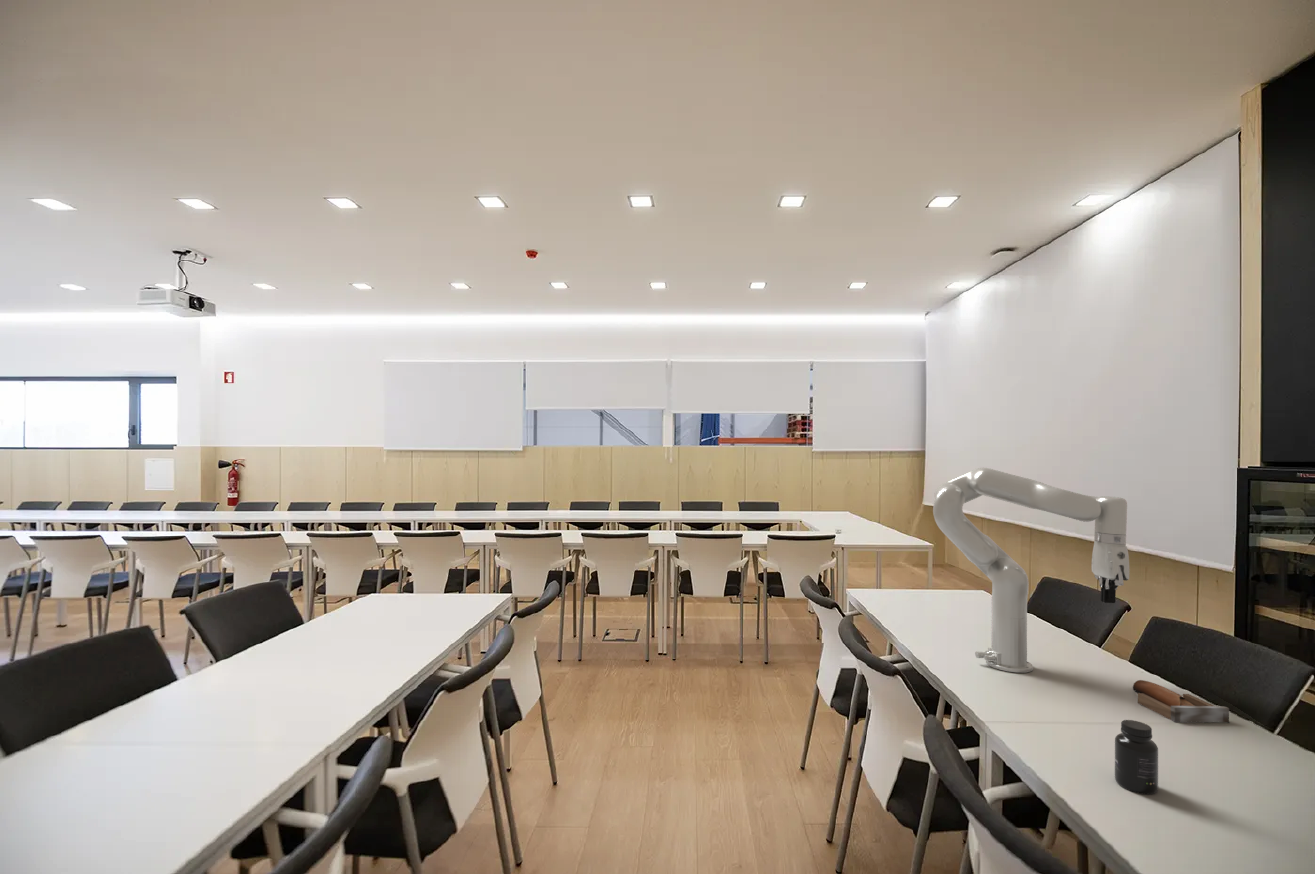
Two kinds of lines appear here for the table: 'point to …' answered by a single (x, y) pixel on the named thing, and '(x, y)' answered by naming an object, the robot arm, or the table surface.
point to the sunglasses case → (1160, 693)
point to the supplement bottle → (1136, 758)
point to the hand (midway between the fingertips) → (1107, 602)
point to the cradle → (1187, 710)
